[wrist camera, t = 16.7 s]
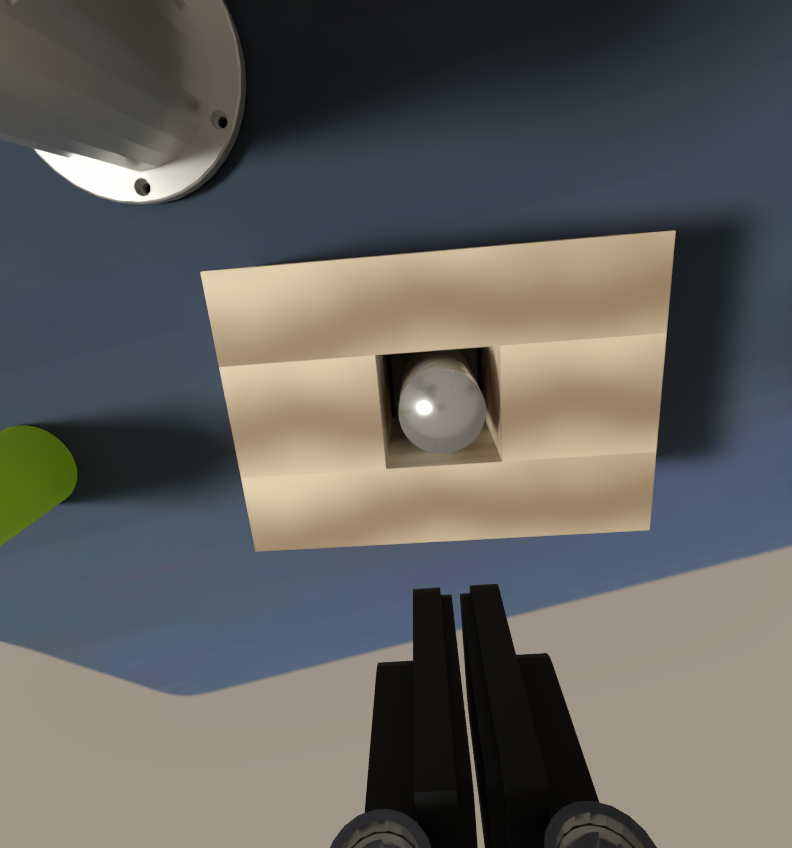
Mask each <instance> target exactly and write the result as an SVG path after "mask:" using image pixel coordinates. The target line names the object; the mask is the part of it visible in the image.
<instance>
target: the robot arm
mask: <svg viewBox="0 0 792 848" xmlns="http://www.w3.org/2000/svg"><path fill="white" fill-rule="evenodd" d="M245 97H246V74H245V60H244V56H243V52H242V47H241V43H240V39H239V34H238V31H237V29H236V26H235V24H234V21H233V19H232V16H231V14H230V11H229V9H228V7H227V5H226V3H225V1H224V0H0V140H4V141H7V142H11V143H15V144H19V145H22V146H26V147H30V148H33V149H34V150H35V152H36V153H37V154H38V155H39V156H40V157H41V158H42V159H43V160H44V161H45V162H46V163H47V164H48V165H49V166H50V167H51V168H52V169H53V170H54V171H55V172H56V173H58V174H59V175H61V176H62V177H64V178H65V179H66V180H68V181H69V182H71V183H72V184H73V185H75V186H76V187H78V188H80V189H83V190H85V191H87V192H89V193H91V194H93V195H95V196H97V197H101V198H104V199H108V200H112V201H116V202H119V203H126V204H134V205H152V204H162V203H166V202H169V201H173V200H177V199H180V198H182V197H184V196H186V195H188V194H189V193H191V192H193V191H195V190H197V189H198V188H200V187H201V186H202V185H203V184H204V183H206V182H207V181H208V180H209V179H210V178H211V177H213V176H214V175H215V173H216V172H217V171H218V169H219V168H220V167H221V165H222V164H223V163H224V162H225V160H226V159H227V157H228V155H229V153H230V151H231V149H232V147H233V145H234V143H235V141H236V139H237V137H238V133H239V130H240V126H241V122H242V119H243V115H244V108H245ZM223 119H227V120H228V123H227V126H226V127H225V128H222V126H221V121H222V120H223ZM149 184H150V186H151V188H150V193H148V192H147V186H148V185H149ZM460 604H461V618H462V632H463V645H464V646H463V647H464V660H465V675H466V688H467V702H468V713H469V721H470V729H471V738H472V746H473V754H474V762H475V771H476V778H477V787H478V795H479V803H480V812H481V820H482V828H483V836H484V844H485V848H657V847H656V846H655V844H654V843H653V841H652V840H651V838H650V837H649V836H648V834H647V833H646V831H645V830H644V829H643V828H642V827H641V826H640V825H638V824H637V823H636V822H635V821H634V820H633V819H632V818H631V817H630V816H628V815H627V814H625V813H623V812H621V811H619V810H618V809H616V808H614V807H612V806H609V805H606V804H602V803H599V800H598V797H597V794H596V791H595V788H594V785H593V782H592V780H591V776H590V773H589V770H588V768H587V765H586V762H585V759H584V756H583V753H582V750H581V747H580V744H579V741H578V738H577V735H576V732H575V729H574V726H573V723H572V720H571V717H570V714H569V711H568V708H567V705H566V702H565V699H564V696H563V694H562V691H561V688H560V685H559V682H558V679H557V676H556V673H555V670H554V667H553V664H552V661H551V659H550V656H549V655H548V654H547V653H543V654H524V655H516V653H515V650H514V646H513V641H512V638H511V634H510V630H509V626H508V622H507V618H506V614H505V610H504V606H503V602H502V598H501V595H500V591H499V587H498V585H497V584H488V585H472V586H470V593H467V594H460ZM330 848H478V847H477V833H476V819H475V804H474V793H473V781H472V772H471V763H470V754H469V745H468V736H467V727H466V718H465V710H464V701H463V692H462V684H461V675H460V666H459V657H458V648H457V640H456V631H455V622H454V613H453V604H452V596H451V595H441V594H440V588H426V589H413V661H400V662H384V663H378V665H377V672H376V683H375V695H374V708H373V720H372V731H371V744H370V755H369V769H368V779H367V792H366V804H365V813H364V814H361V815H358V816H357V817H356V818H354V819H353V820H352V821H350V822H349V823H348V824H346V825H345V826H344V827H343V829H342V830H341V831H340V833H339V834H338V835H337V837H336V838H335V839H334V840H333V842H332V845H331V847H330Z"/></svg>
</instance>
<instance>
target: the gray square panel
mask: <svg viewBox="0 0 792 848" xmlns="http://www.w3.org/2000/svg"><path fill="white" fill-rule="evenodd" d="M456 350H458V351H459V352H460V353H461V354H462V355H463V356H464V358H465V359H466V361H467V363H468V365H469V367H470V369H471V372H472V374H473V376H474V378H475V380H476V382H477V384H478V365H477V347H476V348H463V349H456ZM412 353H413V352H410V353H397V354H390V355H391V366H392V378H393V389H394V401H395V412H396V420H399V401H400V390H401V379H402V370H403V367H404V364H405V362H406V360H407V358H408V357H409V356H410V355H411V354H412Z"/></svg>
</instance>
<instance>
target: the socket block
mask: <svg viewBox="0 0 792 848" xmlns="http://www.w3.org/2000/svg"><path fill="white" fill-rule="evenodd" d="M675 233H676V230H675V231H661V232H648V233H634V234H620V235H607V236H595V237H584V238H572V239H561V240H549V241H538V242H526V243H515V244H504V245H492V246H481V247H469V248H458V249H446V250H435V251H423V252H412V253H400V254H389V255H377V256H366V257H354V258H343V259H332V260H320V261H309V262H297V263H286V264H274V265H263V266H252V267H242V268H233V269H223V270H213V271H204V272H200V273H201V278H202V283H203V288H204V293H205V298H206V303H207V308H208V313H209V318H210V323H211V328H212V333H213V339H214V344H215V349H216V354H217V359H218V364H219V369H220V374H221V379H222V384H223V389H224V394H225V399H226V404H227V409H228V414H229V419H230V424H231V429H232V435H233V440H234V445H235V450H236V455H237V460H238V465H239V470H240V475H241V480H242V485H243V490H244V495H245V500H246V505H247V510H248V515H249V520H250V526H251V531H252V536H253V541H254V546H255V551H275V550H293V549H311V548H330V547H348V546H366V545H385V544H403V543H421V542H440V541H458V540H477V539H495V538H513V537H532V536H550V535H568V534H587V533H605V532H623V531H642V530H650V518H651V507H652V496H653V484H654V473H655V461H656V450H657V438H658V427H659V415H660V404H661V393H662V381H663V370H664V358H665V347H666V335H667V324H668V313H669V301H670V290H671V278H672V267H673V255H674V244H675ZM476 347H479V351H480V384H481V393H482V395H483V397H484V400H485V404H486V418H485V422H484V425H483V428H482V430H481V432H480V433H479V435H478V436H477V437H476V438H475V440H474V441H473V442H471V443H470V444H469V445H468V446H466V447H464V448H462V449H461V450H458V451H455V452H451V453H445V454H439V453H432V452H428V451H425V450H423V449H421V448H419V447H417V446H416V445H414V444H413V443H412V442H411V441H410V440H409V439H408V438H407V437H406V435H405V433H404V432H403V430H402V428H401V425H400V421H399V420H396V417H394V418H393V417H392V406H391V395H390V384H389V372H388V361H387V354H397V353H410V352H424V351H437V350H450V349H463V348H476Z"/></svg>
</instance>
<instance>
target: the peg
mask: <svg viewBox="0 0 792 848" xmlns="http://www.w3.org/2000/svg"><path fill="white" fill-rule="evenodd" d="M485 418H486V404H485V400H484V397H483V395H482V393H481V390H480V388H479V386H478V384H477V382H476V380H475V378H474V376H473V374H472V372H471V369H470V367H469V365H468V363H467V361H466V359H465V358H464V356H463V355H462V354H461V353H460V352H459V351H458V350H456V349H450V350H437V351H424V352H413V353H412V354H411V355H410V356H409V357H408V358H407V360H406V362H405V364H404V367H403V370H402V379H401V390H400V401H399V421H400V425H401V428H402V430H403V432H404V433H405V435H406V437H407V438H408V439H409V440H410V441H411V442H412V443H413V444H414V445H416V446H417V447H419V448H421V449H423V450H425V451H428V452H432V453H439V454H445V453H451V452H455V451H458V450H461V449H462V448H464V447H466V446H468V445H469V444H470V443H471V442H473V441H474V440H475V438H476V437H477V436H478V435H479V433H480V432H481V430H482V428H483V425H484V422H485Z"/></svg>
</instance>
